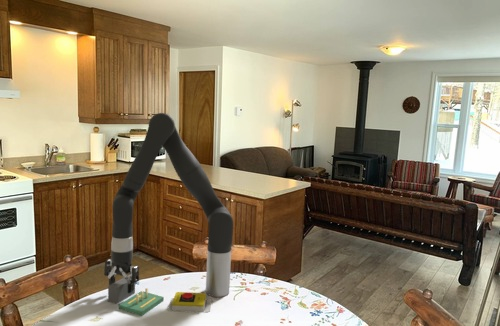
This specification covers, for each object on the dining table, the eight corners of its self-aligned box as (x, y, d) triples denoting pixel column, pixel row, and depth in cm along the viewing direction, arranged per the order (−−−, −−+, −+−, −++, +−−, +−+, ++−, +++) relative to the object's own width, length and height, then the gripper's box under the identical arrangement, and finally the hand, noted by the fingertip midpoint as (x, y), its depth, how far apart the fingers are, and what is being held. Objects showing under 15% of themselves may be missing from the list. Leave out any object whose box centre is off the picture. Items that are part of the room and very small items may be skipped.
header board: (141, 294, 141) (141, 282, 141) (163, 300, 138) (163, 287, 137) (119, 308, 130) (119, 295, 130) (142, 315, 127) (142, 301, 126)
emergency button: (172, 288, 139) (212, 289, 140) (171, 299, 140) (211, 301, 140) (167, 300, 130) (210, 302, 131) (166, 312, 131) (209, 313, 131)
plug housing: (126, 290, 144) (126, 275, 143) (134, 293, 142) (135, 278, 142) (108, 301, 135) (108, 285, 134) (116, 304, 134) (117, 288, 133)
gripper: (144, 248, 137) (143, 290, 139) (114, 241, 143) (113, 281, 145) (130, 254, 130) (129, 298, 132) (99, 247, 136) (98, 289, 138)
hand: (121, 289), depth 138 cm, fingers open, 8 cm apart
